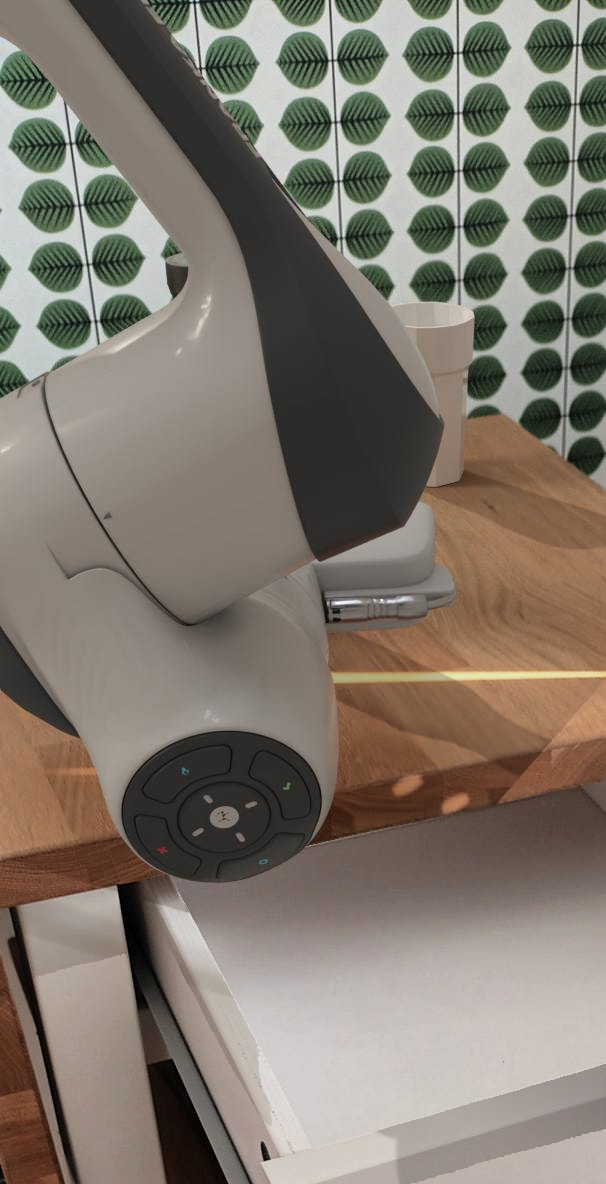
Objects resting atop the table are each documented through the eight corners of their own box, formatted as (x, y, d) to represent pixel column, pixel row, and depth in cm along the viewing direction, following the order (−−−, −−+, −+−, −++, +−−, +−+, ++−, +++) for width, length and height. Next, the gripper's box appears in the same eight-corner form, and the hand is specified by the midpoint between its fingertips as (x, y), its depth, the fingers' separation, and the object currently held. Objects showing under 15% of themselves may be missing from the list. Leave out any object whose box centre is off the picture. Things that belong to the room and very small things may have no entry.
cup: (374, 462, 114) (368, 304, 107) (462, 455, 115) (461, 299, 109) (391, 494, 109) (386, 330, 102) (483, 486, 110) (484, 324, 103)
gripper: (462, 540, 66) (426, 432, 77) (-36, 563, 63) (0, 448, 74) (462, 675, 69) (427, 554, 81) (-9, 701, 67) (22, 573, 78)
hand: (219, 503), depth 77 cm, fingers open, 8 cm apart
